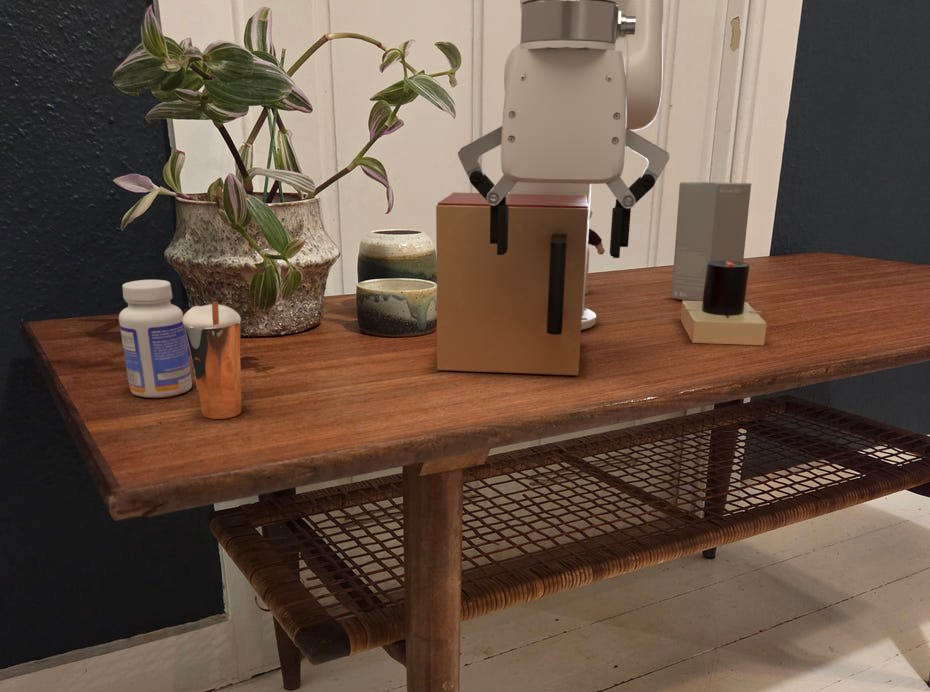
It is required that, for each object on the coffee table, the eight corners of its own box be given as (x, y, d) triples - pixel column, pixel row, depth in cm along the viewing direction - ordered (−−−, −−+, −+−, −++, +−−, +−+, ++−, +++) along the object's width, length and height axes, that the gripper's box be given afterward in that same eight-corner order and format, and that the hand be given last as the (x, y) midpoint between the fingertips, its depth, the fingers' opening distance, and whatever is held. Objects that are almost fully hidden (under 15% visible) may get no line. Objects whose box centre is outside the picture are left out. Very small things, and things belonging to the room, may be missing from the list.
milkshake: (198, 427, 71) (184, 304, 67) (190, 408, 76) (176, 291, 72) (255, 421, 73) (244, 300, 69) (244, 403, 77) (233, 288, 74)
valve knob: (699, 306, 107) (704, 257, 104) (739, 307, 106) (745, 258, 104) (704, 314, 102) (710, 263, 100) (746, 315, 102) (753, 264, 100)
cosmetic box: (707, 306, 119) (721, 183, 113) (665, 298, 124) (676, 180, 118) (742, 299, 125) (757, 181, 119) (700, 291, 130) (713, 178, 123)
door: (578, 394, 81) (589, 216, 75) (427, 387, 82) (425, 212, 76) (578, 373, 87) (587, 208, 81) (438, 368, 88) (437, 204, 82)
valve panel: (676, 320, 111) (678, 299, 110) (748, 322, 110) (751, 301, 109) (687, 342, 100) (690, 319, 99) (768, 345, 99) (771, 322, 98)
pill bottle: (199, 382, 83) (187, 278, 79) (183, 399, 78) (169, 289, 74) (140, 382, 83) (126, 277, 79) (121, 399, 78) (104, 288, 74)
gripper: (674, 37, 72) (656, 251, 78) (464, 36, 74) (463, 246, 80) (685, 27, 65) (664, 263, 71) (453, 26, 67) (452, 257, 73)
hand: (558, 254), depth 76 cm, fingers open, 9 cm apart
